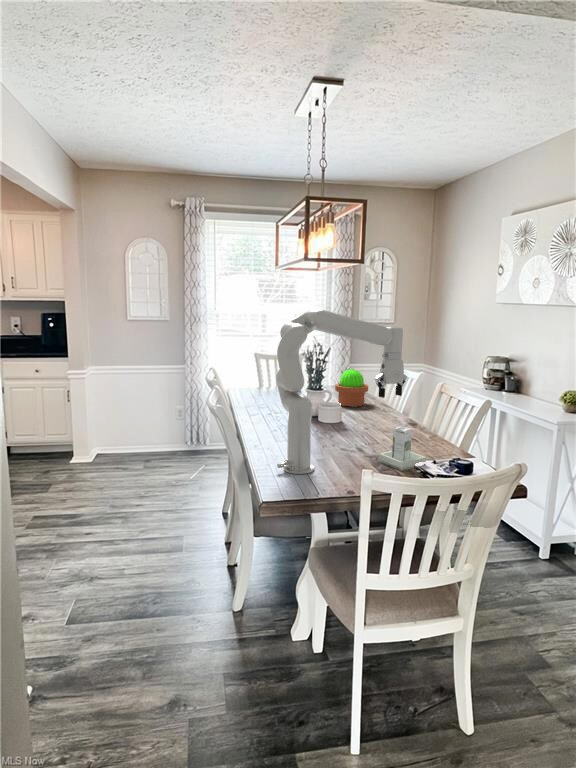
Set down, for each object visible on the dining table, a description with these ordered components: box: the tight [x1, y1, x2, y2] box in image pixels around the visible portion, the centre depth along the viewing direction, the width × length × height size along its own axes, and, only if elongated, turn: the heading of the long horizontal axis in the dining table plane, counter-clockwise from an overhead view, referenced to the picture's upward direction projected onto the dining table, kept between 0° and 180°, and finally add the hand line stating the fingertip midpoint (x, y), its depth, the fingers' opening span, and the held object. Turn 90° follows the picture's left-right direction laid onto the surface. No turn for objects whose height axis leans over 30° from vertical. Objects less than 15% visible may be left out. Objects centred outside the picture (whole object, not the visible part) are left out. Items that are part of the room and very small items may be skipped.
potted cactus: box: [334, 368, 369, 407], centre depth 321 cm, size 22×22×25 cm
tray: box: [378, 450, 427, 472], centre depth 205 cm, size 14×14×4 cm
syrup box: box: [391, 426, 413, 462], centre depth 204 cm, size 6×6×14 cm
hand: (390, 396), depth 203 cm, fingers open, 9 cm apart
